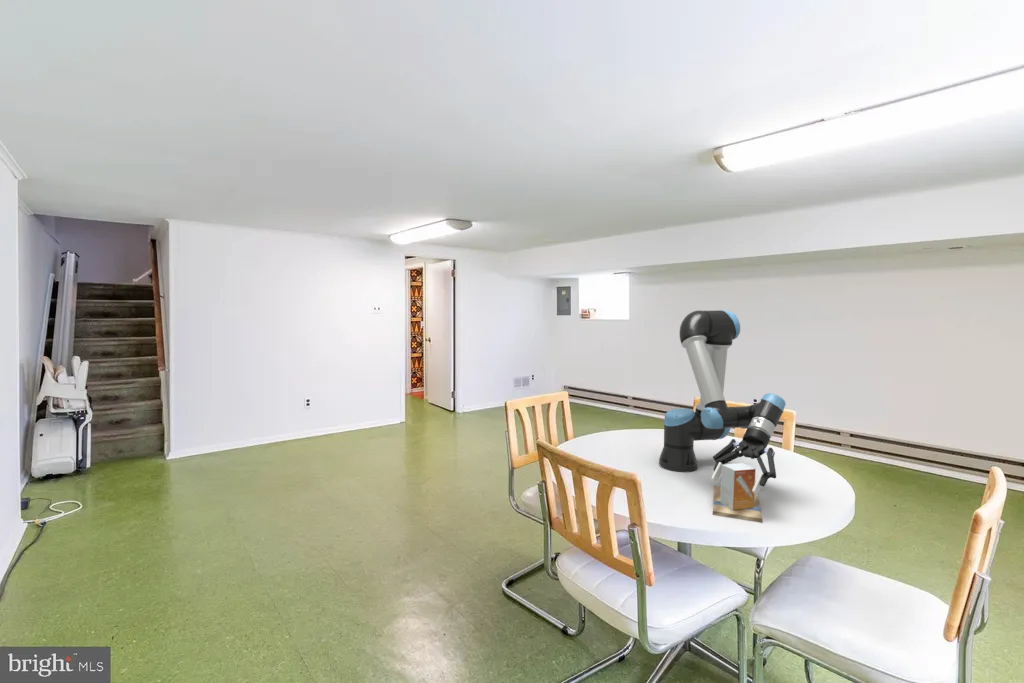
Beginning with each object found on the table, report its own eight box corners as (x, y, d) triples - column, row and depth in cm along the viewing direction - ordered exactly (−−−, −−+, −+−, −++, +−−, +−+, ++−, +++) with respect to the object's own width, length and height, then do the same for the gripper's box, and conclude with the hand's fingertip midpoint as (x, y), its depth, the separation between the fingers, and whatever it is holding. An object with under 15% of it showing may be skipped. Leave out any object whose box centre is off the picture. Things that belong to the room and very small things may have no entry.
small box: (733, 510, 151) (734, 470, 150) (719, 503, 157) (720, 464, 156) (754, 508, 152) (756, 468, 152) (740, 500, 159) (741, 462, 158)
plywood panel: (712, 514, 151) (712, 510, 150) (713, 488, 172) (713, 485, 172) (762, 522, 145) (762, 518, 145) (757, 494, 167) (757, 491, 167)
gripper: (719, 420, 169) (694, 469, 161) (794, 435, 149) (769, 492, 141) (727, 432, 172) (702, 481, 165) (801, 448, 152) (777, 505, 145)
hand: (733, 486), depth 153 cm, fingers open, 13 cm apart
